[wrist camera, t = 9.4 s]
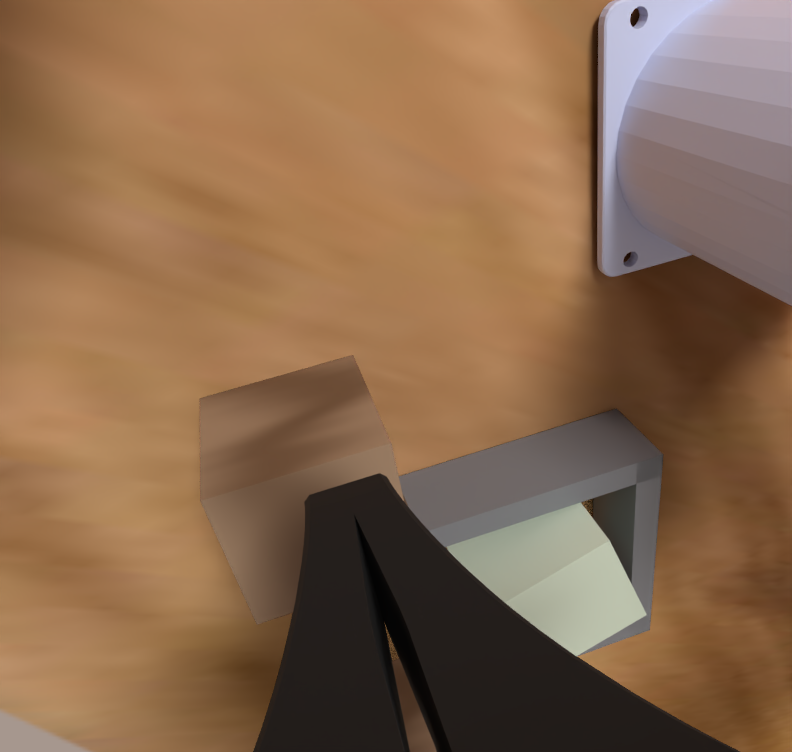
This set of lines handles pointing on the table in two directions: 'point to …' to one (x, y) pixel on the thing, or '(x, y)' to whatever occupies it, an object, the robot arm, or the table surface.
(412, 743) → the walnut block
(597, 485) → the corral
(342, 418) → the walnut block
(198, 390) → the table surface
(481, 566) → the sage block
